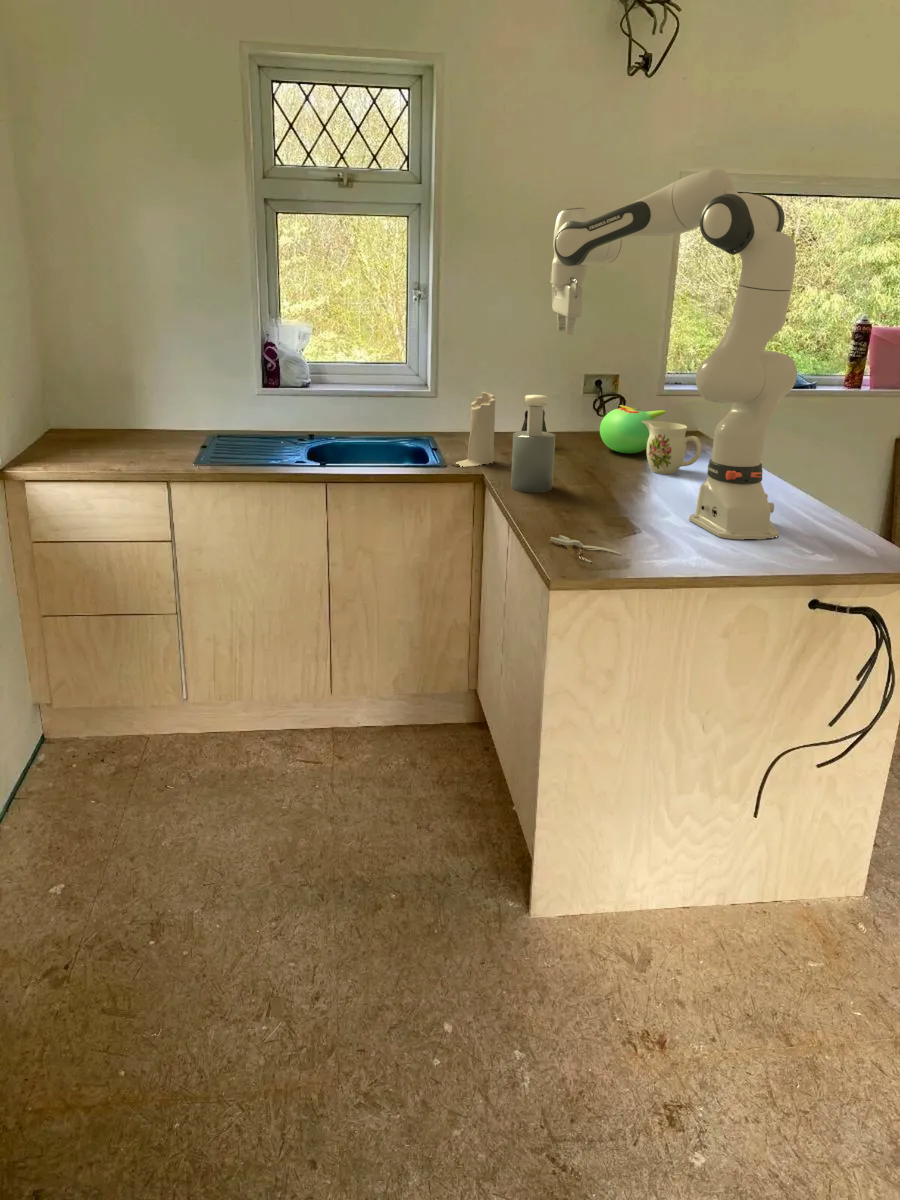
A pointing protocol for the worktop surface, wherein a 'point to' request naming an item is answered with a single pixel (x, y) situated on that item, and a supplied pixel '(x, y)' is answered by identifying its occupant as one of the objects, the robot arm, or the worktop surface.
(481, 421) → the candle
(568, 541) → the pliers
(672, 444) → the pitcher
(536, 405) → the pump head
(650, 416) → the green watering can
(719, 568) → the worktop surface
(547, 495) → the worktop surface
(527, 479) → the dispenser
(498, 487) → the worktop surface
